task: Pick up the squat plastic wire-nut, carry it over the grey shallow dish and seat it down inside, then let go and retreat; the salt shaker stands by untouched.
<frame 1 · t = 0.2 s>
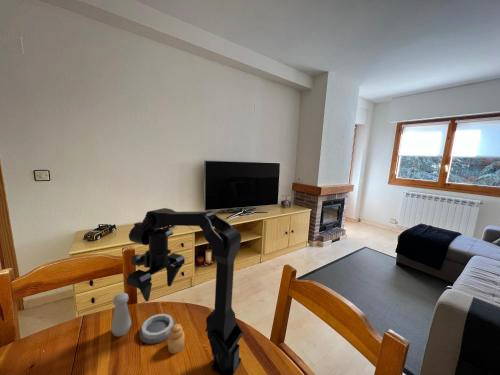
hand: (158, 293, 70), 14 cm above the table, fingers open, 9 cm apart
grey shallow dish: (157, 330, 72), on the table
nut: (176, 346, 66), on the table
salt shaker: (121, 332, 71), on the table
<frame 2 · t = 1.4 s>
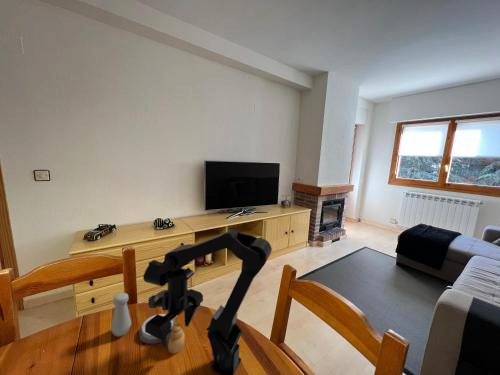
hand: (176, 335, 66), 4 cm above the table, fingers open, 9 cm apart
nothing on the table moved.
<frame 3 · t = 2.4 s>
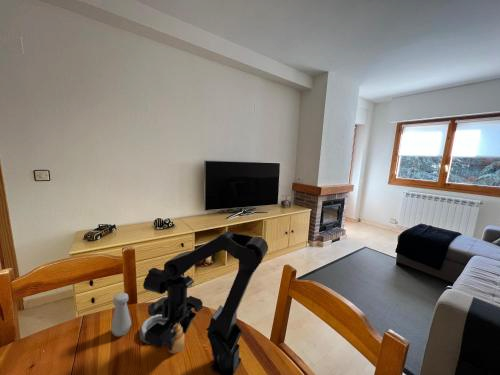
hand: (176, 343, 66), 1 cm above the table, fingers closed on nut, 5 cm apart
nut: (176, 346, 66), on the table, touching gripper
everything else where it was.
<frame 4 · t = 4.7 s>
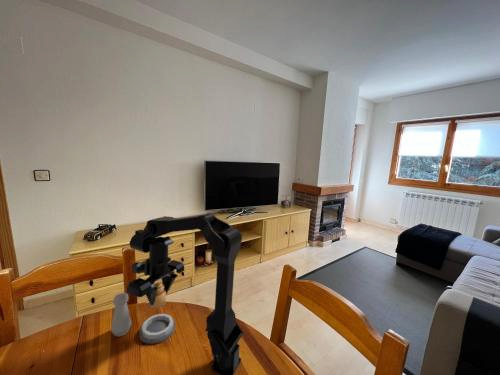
hand: (158, 300, 71), 11 cm above the table, fingers closed on nut, 5 cm apart
nut: (158, 303, 71), point 10 cm above the table, touching gripper
everything else where it was.
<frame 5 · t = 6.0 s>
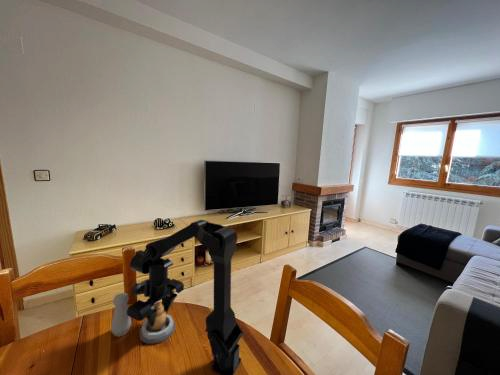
hand: (158, 320, 72), 4 cm above the table, fingers closed on nut, 5 cm apart
nut: (157, 324, 72), point 2 cm above the table, touching gripper
everything else where it was.
when the fingers open (3 cm above the table, at t = 6.8 s): nut drops 1 cm, resting on grey shallow dish.
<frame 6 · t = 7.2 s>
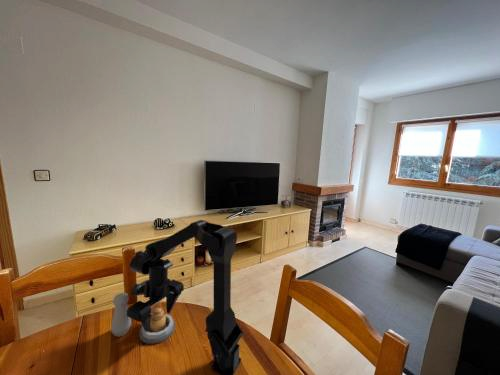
hand: (158, 321, 72), 3 cm above the table, fingers open, 9 cm apart
nut: (157, 327, 72), point 1 cm above the table, touching grey shallow dish
everything else where it was.
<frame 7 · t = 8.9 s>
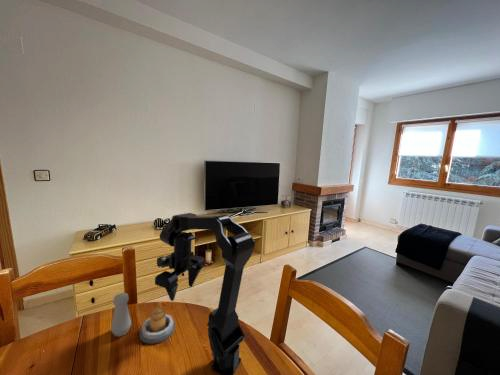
hand: (181, 292, 74), 12 cm above the table, fingers open, 9 cm apart
nothing on the table moved.
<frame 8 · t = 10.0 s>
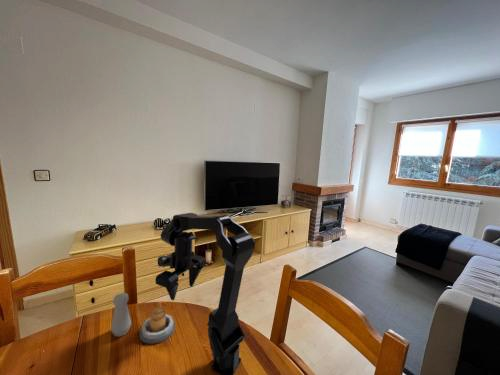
hand: (182, 292, 74), 12 cm above the table, fingers open, 9 cm apart
nothing on the table moved.
at the end: nut 0.0 cm off-centre on the grey shallow dish, point 1.0 cm above the grey shallow dish's base; nut tilted 0°; the gripper is holding nothing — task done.
